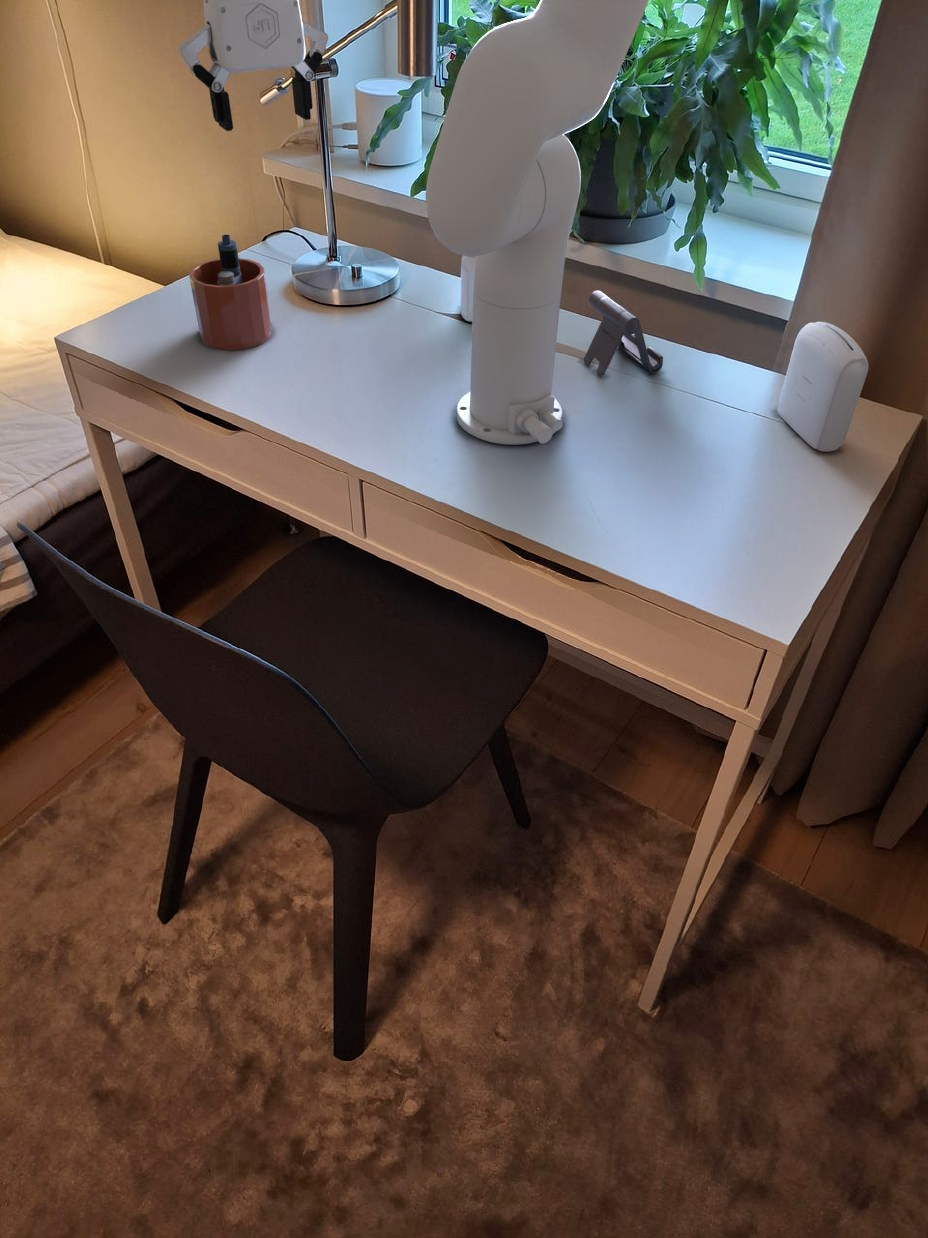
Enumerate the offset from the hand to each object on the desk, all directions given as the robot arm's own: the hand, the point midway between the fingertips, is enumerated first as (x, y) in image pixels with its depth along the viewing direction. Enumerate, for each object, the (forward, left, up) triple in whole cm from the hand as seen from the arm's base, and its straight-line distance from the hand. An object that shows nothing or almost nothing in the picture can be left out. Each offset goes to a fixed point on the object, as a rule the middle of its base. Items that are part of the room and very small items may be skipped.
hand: (265, 122), depth 109 cm
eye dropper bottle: (-8, -26, -26) cm, 37 cm away
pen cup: (+2, +7, -26) cm, 27 cm away
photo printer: (-53, -44, -26) cm, 74 cm away
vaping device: (+2, +7, -25) cm, 26 cm away
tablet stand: (-29, -34, -26) cm, 52 cm away
